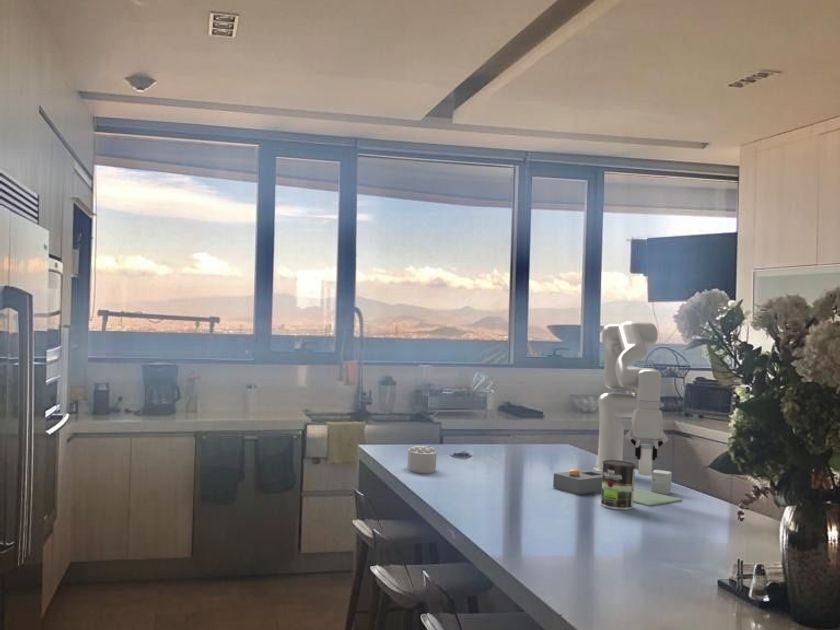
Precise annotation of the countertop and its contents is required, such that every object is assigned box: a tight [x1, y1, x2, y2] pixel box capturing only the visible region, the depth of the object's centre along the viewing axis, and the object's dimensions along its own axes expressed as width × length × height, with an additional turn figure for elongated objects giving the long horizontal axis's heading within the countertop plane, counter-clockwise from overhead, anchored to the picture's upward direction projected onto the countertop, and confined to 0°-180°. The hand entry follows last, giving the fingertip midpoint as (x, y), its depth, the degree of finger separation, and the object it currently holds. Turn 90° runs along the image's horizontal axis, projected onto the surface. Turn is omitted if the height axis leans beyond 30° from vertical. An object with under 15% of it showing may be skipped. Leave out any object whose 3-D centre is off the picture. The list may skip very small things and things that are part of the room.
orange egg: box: [568, 468, 581, 477], centre depth 290 cm, size 4×4×6 cm
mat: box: [633, 488, 683, 507], centre depth 282 cm, size 18×18×1 cm
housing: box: [552, 469, 603, 495], centre depth 293 cm, size 18×12×5 cm, turn 127°
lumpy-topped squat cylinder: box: [406, 445, 438, 474], centre depth 314 cm, size 10×13×9 cm
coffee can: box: [600, 460, 636, 511], centre depth 267 cm, size 10×10×14 cm
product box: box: [650, 469, 673, 495], centre depth 295 cm, size 6×6×7 cm
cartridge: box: [637, 443, 654, 477], centre depth 282 cm, size 4×4×10 cm
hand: (645, 458), depth 282 cm, fingers closed on cartridge, 4 cm apart
